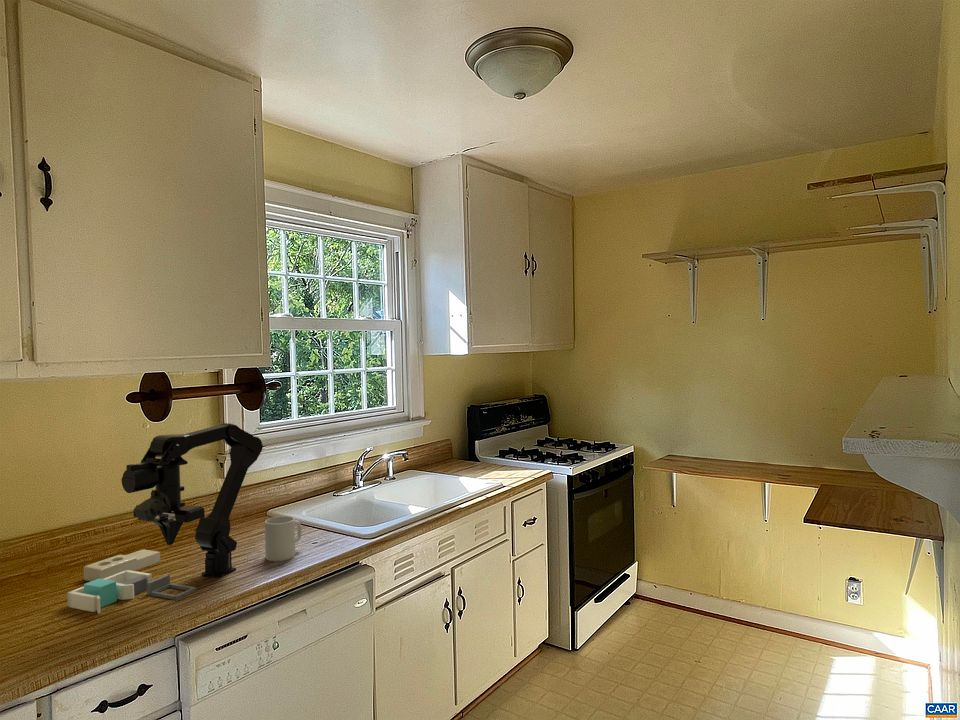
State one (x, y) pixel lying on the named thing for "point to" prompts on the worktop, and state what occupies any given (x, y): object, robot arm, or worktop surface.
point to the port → (125, 589)
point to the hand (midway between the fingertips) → (170, 544)
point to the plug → (102, 590)
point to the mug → (281, 538)
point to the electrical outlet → (120, 564)
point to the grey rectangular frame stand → (164, 583)
